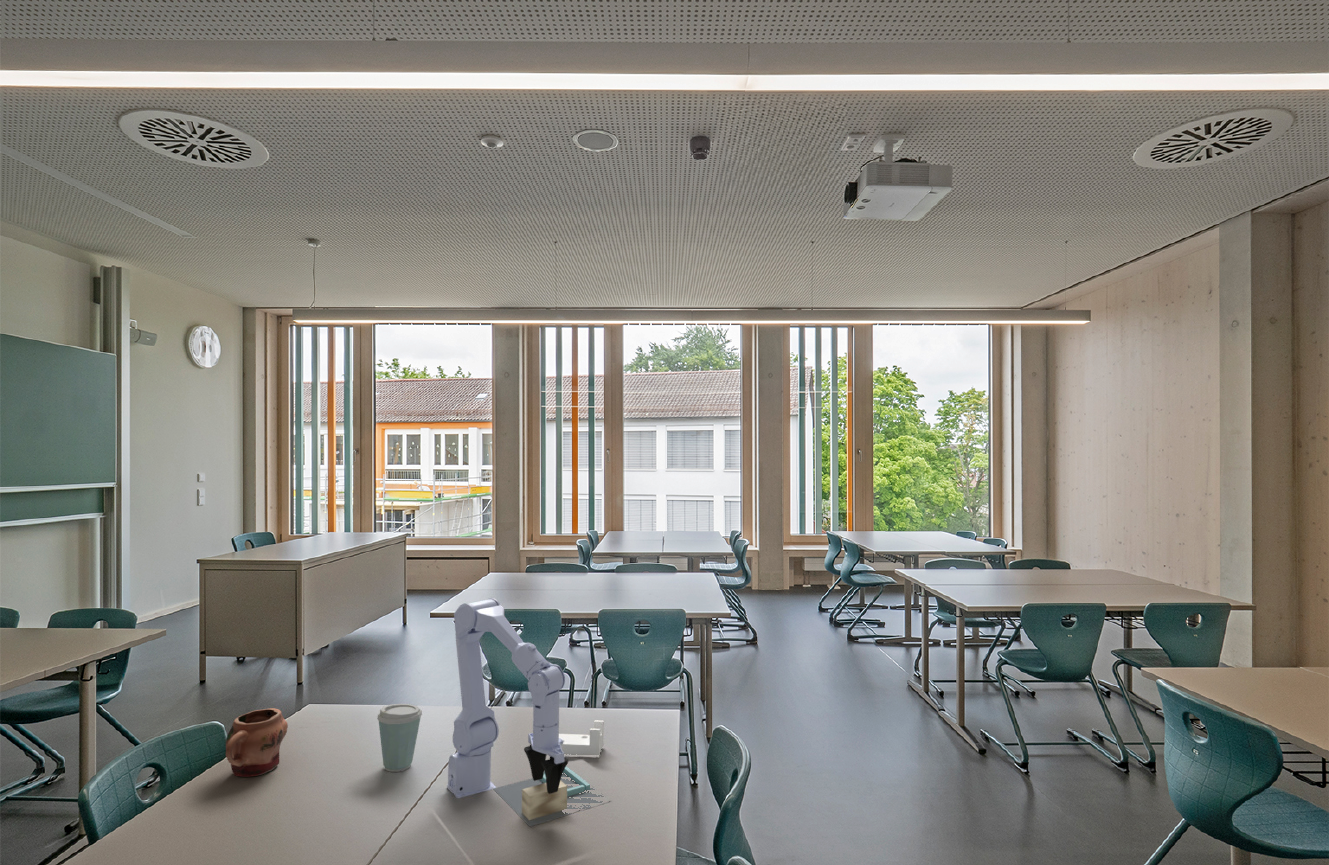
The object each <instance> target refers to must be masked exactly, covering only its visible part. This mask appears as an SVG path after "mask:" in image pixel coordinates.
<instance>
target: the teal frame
mask: <svg viewBox="0 0 1329 865" xmlns="http://www.w3.org/2000/svg"><path fill="white" fill-rule="evenodd" d="M563 773H565V774H566V775H567V776H568V777H570V778H571V779H572V780H574V781H575V782H576V783H577V784H579V785H580V786H576V787H573V788H569V789H567V796H571V795H574V794H578V793H581V792H584V791H585V790H586V791H587V790H590V785H591V784H590V783H589V782H588V781H587V780H585V779H583V777H581V776H580V775H579V774H577V773H576V772H575V771H573V770H572V769H570V768H569V767H568V765H566V767H565V769H564V771H563ZM540 780H541V781H542V782H543V783H546V776H545V772H544V775H543V779H540Z"/></svg>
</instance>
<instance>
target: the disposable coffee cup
mask: <svg viewBox="0 0 1329 865" xmlns="http://www.w3.org/2000/svg"><path fill="white" fill-rule="evenodd" d="M422 712H423V711H422V710H421V709H420V707H419V706H418V705H415V704H411V703H394V704H388V705H384V706H382V708H380V710H379V713H378V714H377V720H378V725H379V726H378V727H379V729H378V730H379V736H380V745H381V746H380V747H381V754H382V765H383V767H384V769H385V771H387V772H391V773H397V772H399V773H400V772H404V771H406V770H408V769H409V768H410V767H411V765H412V763H413V760H414V759H413V758H414V755H415V748H416V745H417V744H416V742H417V738H418V733H419V728H420V722H421V717H422V715H423V714H422Z"/></svg>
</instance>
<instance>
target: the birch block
mask: <svg viewBox="0 0 1329 865" xmlns="http://www.w3.org/2000/svg"><path fill="white" fill-rule="evenodd" d="M564 809H567V785H566V784H564V783H563V782H562V781H561V780H560V784H559V788H558V791H557V792H554V793H551V794H549V793H548V791H547V785H546V783H544V784H540V785H536V786H533V787H529V788H525V789H522V813H523V814H524V815H525V816H526V817H527V818H528V819H529V820H532V819H535V818H538V817H542V816H545V815H548V814H552V813H555V812H558V811H562V810H564Z"/></svg>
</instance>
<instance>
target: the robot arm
mask: <svg viewBox="0 0 1329 865" xmlns="http://www.w3.org/2000/svg"><path fill="white" fill-rule="evenodd" d="M453 619H454V630H455V644H456V656H457V666H458V677H459V687H460V696H461V698H460V699H461V708H462V710H461V711H460V712H459V714H458V716H457V717H456V718H455V719H454V721H453V726H454V728H453V734H452V744H453V747H454V748H455V750H456V751H457V752H455V753H452V754H450V756H449V758H448V765H447V766H448V767H447V768H448V770H447V773H448V774H447V785H446V788H447V789H448V790H449V791H450V792H451V793H452V794H453V795H454V796H455V797H456V798H457V799H461V798H464V797H468V796H472V795H475V794H476V795H477V794H478V793H483V792H486V791H490V790H491V791H492V790H494V788H497V786H496V785H495V784H494V783H493V782H492V781H491V771H492V770H491V768H492V766H491V765H492V764H491V763H492V761H491V760H492V748H494V742H495V741H497V739H498V738H499V735H500V734H499V733H500V731H499V730H500V729H499V725H498V723H497V720H496V718H495V711H494V710H493V709H492V708H490V707H489V706H487V705H486V696H485V695H486V694H485V684H484V676H483V663H482V655H481V647H480V639H481V638H482V636H483V635H484V634H486V632H489V633H492V635H493V636H494V637H496V638H497V639H498V641H500V643H502V645H503V646H505V648H506V649H507V650H509V652H511V662H512V663H513V664H514V665H515V667H516V668H517V669H518V670H519V672H521V674H522V675H523V676H524V678H526V679H527V688H528V691H529V693H530V696H531V702H532V705H533V706H532V707H533V708H532V709H533V710H532V711H533V712H532V715H533V716H532V732H530V733H528V736H527V738H528V740H527V741H528V744H529V745H528V746H525V747H524V748H523V751H524V753H525V755H526V757H527V759H528V762H529V763H528V764H529V767H530V773H531V778H533V780H534V781H536V780H540V779H543V775H544V772H545V776H546V785H547V791H548V793H549V794H551V793H554V792H557V791H558V788H559V784H560V780H561V776H562V773H563V771H564V769H565V767H566V766H568V763H569V759H568V757H564V752H563V751H562V749H561V744H563V740H562V739H561V738H559V734H560V691H561V690H562V689H564V686H565V683H566V675H565V673H564V671H563V669H562V667H561V666H560V665H558V664H555V663H554V664H553V663H551V662H550V661H548V660H546V658H545V656H543V655H542V653H541V652H539V650H538V649H537V646H536V645H535V644H533V643H532V642H524V641H523V639H522V638H521V637H520V635H519V634H518V632H517V631H516V630H515V628H514V627H513V625H511V623H510V622H509V620H508V619H507V618H506V616H505V607H504V606H502V605H501V604H500V601H499V600H498V599H496V598H493V597H491V598H487V599H484V600H478V601H474V602H469V603H468V602H467V603H461V604H460V605H459V606H458V607H457V609H456V610H455V612H454V613H453ZM547 756H549V759H547Z"/></svg>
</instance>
